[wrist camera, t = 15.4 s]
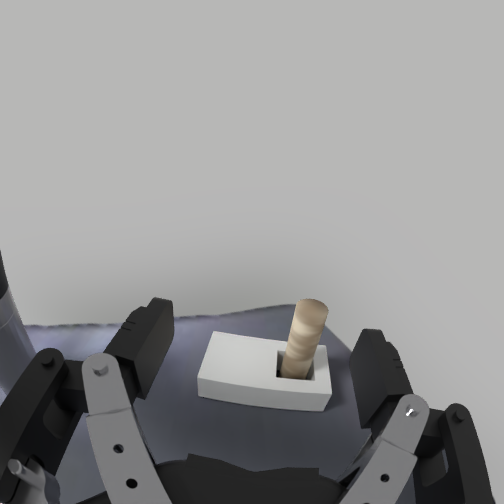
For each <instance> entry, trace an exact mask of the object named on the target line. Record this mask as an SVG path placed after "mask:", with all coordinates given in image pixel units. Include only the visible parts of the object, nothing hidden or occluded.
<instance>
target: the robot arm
mask: <svg viewBox="0 0 504 504" xmlns="http://www.w3.org/2000/svg"><path fill="white" fill-rule="evenodd" d="M173 336H174V317H173V304H172V301H171V300H166V299H161V298H156V297H155V298H153V299H152V300H151V302H150V303H149V305H148V306H147V307H142V306H141V307H139V308H138V309H136V310H134V311H133V312H132V313H131V314H130V315H129V317H128V318H127V319H126V322H124V323H123V325H122V326H121V329H119V330H118V332H117V333H116V335H115V336H114V337H113V339H112V340H111V342H110V343H109V345H108V346H107V347H106V349H105V350H104V352H103V353H97V354H93V355H91V356H89V357H88V358H87V359H86V360H85V361H72V360H65V359H64V357H63V355H62V353H61V352H60V351H59V350H57V349H54V348H46V349H43V350H41V351H39V352H38V353H37V354H36V352H35V350H34V348H33V345H32V343H31V341H30V339H29V337H28V334H27V332H26V330H25V328H24V325H23V323H22V320H21V318H20V316H19V313H18V310H17V308H16V305H15V302H14V299H13V296H12V294H11V291H10V287H9V285H8V281H7V278H6V274H5V270H4V266H3V261H2V256H1V251H0V387H1V388H2V390H3V391H4V392H5V394H6V395H7V397H6V398H5V400H4V402H3V403H2V405H1V407H0V504H60V502H59V497H60V486H59V483H58V481H57V479H56V478H55V475H56V472H57V470H58V467H59V465H60V462H61V460H62V458H63V455H64V453H65V451H66V448H67V446H68V444H69V441H70V439H71V437H72V435H73V433H74V430H75V428H76V426H77V424H78V422H79V420H80V418H81V416H82V414H83V412H84V413H89V416H87V417H86V421H87V426H88V431H89V435H90V439H91V443H92V447H93V450H94V454H95V458H96V461H97V464H98V467H99V471H100V474H101V477H102V480H103V482H104V485H105V488H106V491H104V492H102V493H100V494H98V495H95V496H93V497H91V498H89V499H86V500H84V501H81V502H79V503H76V504H395V502H396V501H397V499H398V497H399V495H400V494H401V492H402V490H403V488H404V486H405V484H406V482H407V480H408V478H409V476H410V474H411V472H412V471H413V478H414V487H415V497H416V504H493V498H492V492H491V487H490V482H489V477H488V472H487V468H486V465H485V460H484V456H483V453H482V449H481V446H480V442H479V439H478V436H477V432H476V429H475V427H474V423H473V421H472V418H471V415H470V413H469V411H468V409H467V408H466V407H464V406H463V405H461V404H457V403H454V404H451V405H450V406H449V407H448V408H447V409H446V410H445V411H442V410H436V409H431V408H429V406H428V404H427V403H426V401H425V400H424V399H423V398H421V397H420V396H418V395H415V394H414V393H413V391H412V388H411V385H410V382H409V380H408V377H407V374H406V372H405V369H404V368H403V364H402V361H400V356H399V354H398V351H397V350H396V349H395V347H394V346H393V345H392V344H391V343H390V342H386V340H385V337H384V335H383V333H382V331H381V330H376V329H363V330H362V332H361V334H360V336H359V339H358V341H357V343H356V345H355V347H354V349H353V352H352V354H351V357H350V371H351V376H352V381H353V386H354V391H355V396H356V402H357V407H358V413H359V419H360V425H361V429H364V428H371V432H372V433H371V434H370V435H369V437H368V438H367V440H366V441H365V443H364V444H363V446H362V447H361V449H360V450H359V452H358V453H357V455H356V456H355V458H354V459H353V460H352V462H351V463H350V465H349V466H348V467H347V468H346V470H345V471H344V472H343V473H342V474H341V475H340V476H339V477H338V478H337V479H336V480H335V481H334V480H332V479H330V478H327V477H324V476H321V475H319V468H288V467H287V468H281V469H275V470H268V471H259V472H252V471H248V470H246V469H243V468H240V467H237V466H235V465H232V464H229V463H227V462H224V461H222V460H218V459H212V458H207V457H202V456H198V455H193V454H189V453H188V457H187V460H173V461H168V462H164V463H160V464H157V463H156V461H155V459H154V457H153V454H152V452H151V450H150V448H149V446H148V444H147V441H146V439H145V436H144V434H143V431H142V429H141V426H140V423H139V421H138V418H137V415H136V412H135V409H134V407H133V403H134V401H135V398H136V397H138V398H141V399H144V400H145V399H146V396H147V394H148V392H149V390H150V388H151V385H152V383H153V381H154V379H155V377H156V375H157V372H158V370H159V368H160V366H161V364H162V362H163V360H164V357H165V355H166V353H167V351H168V349H169V347H170V345H171V343H172V340H173ZM444 449H445V451H446V456H447V460H448V465H449V468H448V472H447V474H446V470H445V465H444V460H443V455H442V450H444Z"/></svg>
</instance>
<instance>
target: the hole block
mask: <svg viewBox="0 0 504 504" xmlns="http://www.w3.org/2000/svg"><path fill="white" fill-rule="evenodd" d="M286 346H287V342H285V341H276V340H269V339H261V338H254V337H247V336H241V335H234V334H228V333H222V332H216V331H213V334H212V337H211V339H210V342H209V345H208V348H207V351H206V354H205V356H204V359H203V362H202V365H201V368H200V371H199V374H198V376H197V382H198V396H201V397H206V398H211V399H216V400H221V401H227V402H233V403H239V404H245V405H253V406H260V407H269V408H278V409H289V410H303V411H323V410H324V408H325V406H326V405H327V403H328V401H329V399H330V397H331V395H332V389H331V381H330V373H329V365H328V358H327V351H326V346H325V345H318V346H317V349H316V351H315V354H314V357H313V360H312V363H311V366H310V368H309V371H308V374H307V380H297V379H287V378H277V377H276V370H281V366H282V362H283V358H284V354H285V350H286Z"/></svg>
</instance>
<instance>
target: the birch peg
mask: <svg viewBox="0 0 504 504" xmlns="http://www.w3.org/2000/svg"><path fill="white" fill-rule="evenodd" d="M327 315H328V308H327V306H326V305H325V304H324V303H322V302H320V301H318V300H315V299H303V300H300V301H298V302H297V305H296V309H295V313H294V317H293V322H292V326H291V330H290V334H289V338H288V342H287V346H286V350H285V354H284V358H283V362H282V366H281V370H280V373H279V377H278V378H287V379H297V380H305V379H306V377H307V374H308V371H309V368H310V366H311V363H312V360H313V357H314V354H315V351H316V349H317V346H318V343H319V340H320V337H321V334H322V331H323V327H324V324H325V321H326V318H327Z"/></svg>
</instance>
